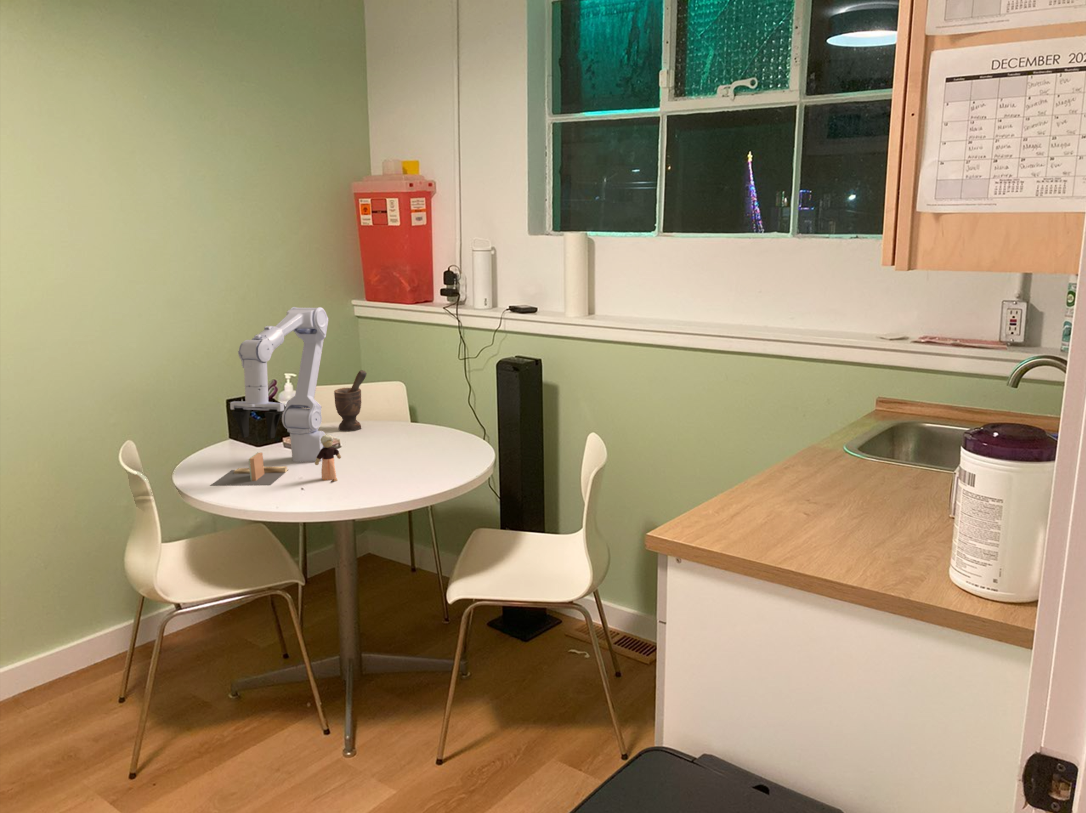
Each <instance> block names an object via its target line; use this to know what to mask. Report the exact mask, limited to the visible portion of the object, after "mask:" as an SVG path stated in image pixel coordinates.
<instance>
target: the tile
mask: <svg viewBox="0 0 1086 813" xmlns="http://www.w3.org/2000/svg"><path fill="white" fill-rule="evenodd" d="M248 465H249V467H248V468H250V478H251V481H256V480H258V479H259V478H260V477H261V476H263V475H264V467H265V466H264V455H263V452H256V453H255V454H253V455H252V456H250V457H249V458H248Z"/></svg>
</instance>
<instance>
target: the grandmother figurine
mask: <svg viewBox="0 0 1086 813" xmlns="http://www.w3.org/2000/svg"><path fill="white" fill-rule="evenodd" d="M320 441H321V444H323V446H324V448H322V449H321V450H320V452H319V454H318V455H317V458H316V462H314V465H315V466H318V465H319V464H320V462H321V463H322V464H321V472H320V473H321V480H322V481H325V482H326V481H330V482H333V483H334V482H337V481H338V478H337V472H336V467H335V456H336V458H337V459H338V460H340V459H341V458H342V456H341V454H340V451H339V450H338V449H337V448H336V447H334V446H333V443H334V437H333V436H332V435H331V434H326V433H325V435H324V436H322V437H321V440H320ZM321 458H322V461H320V459H321Z"/></svg>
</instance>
